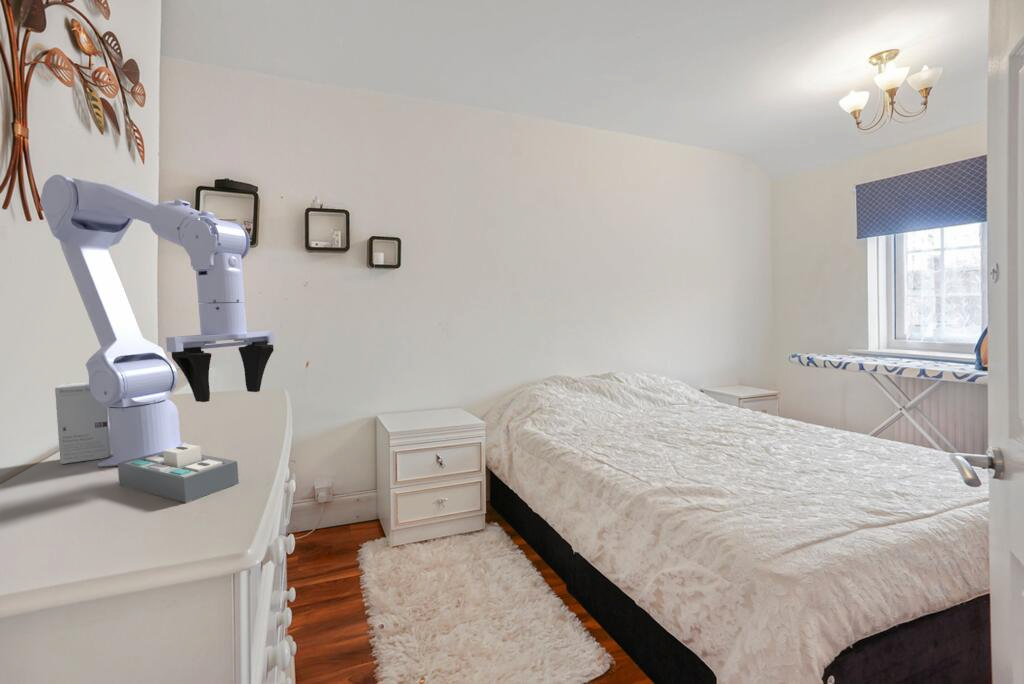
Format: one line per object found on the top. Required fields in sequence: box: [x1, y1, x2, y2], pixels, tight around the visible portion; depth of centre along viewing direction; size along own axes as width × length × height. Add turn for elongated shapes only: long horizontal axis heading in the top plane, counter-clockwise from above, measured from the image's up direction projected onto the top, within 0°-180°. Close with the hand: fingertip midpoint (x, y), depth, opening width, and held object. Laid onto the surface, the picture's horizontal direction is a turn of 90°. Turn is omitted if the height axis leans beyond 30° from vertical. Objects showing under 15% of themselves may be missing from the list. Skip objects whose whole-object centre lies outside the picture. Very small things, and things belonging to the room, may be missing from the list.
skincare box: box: [54, 381, 112, 465], centre depth 74 cm, size 6×4×12 cm
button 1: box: [145, 454, 164, 463], centre depth 64 cm, size 3×3×2 cm
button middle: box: [163, 443, 202, 468], centre depth 62 cm, size 3×3×2 cm
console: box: [117, 451, 240, 504], centre depth 62 cm, size 15×7×3 cm, turn 64°
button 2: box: [185, 459, 223, 472], centre depth 60 cm, size 3×3×2 cm
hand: (229, 396), depth 68 cm, fingers open, 7 cm apart
